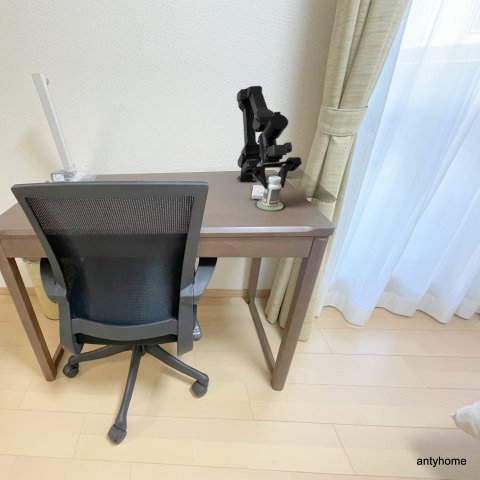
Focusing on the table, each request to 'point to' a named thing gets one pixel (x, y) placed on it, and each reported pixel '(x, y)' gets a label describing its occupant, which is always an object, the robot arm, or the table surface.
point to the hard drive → (258, 192)
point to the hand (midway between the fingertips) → (274, 187)
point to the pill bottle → (272, 191)
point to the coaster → (270, 208)
